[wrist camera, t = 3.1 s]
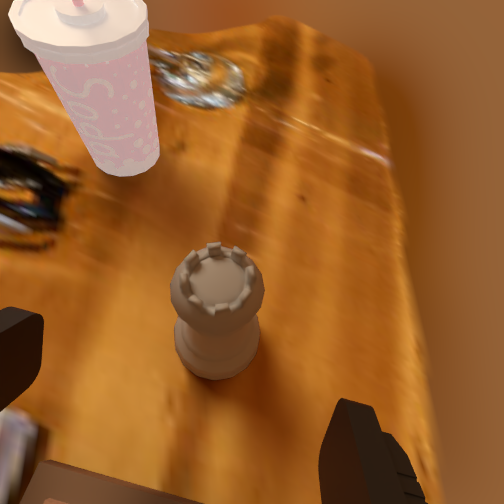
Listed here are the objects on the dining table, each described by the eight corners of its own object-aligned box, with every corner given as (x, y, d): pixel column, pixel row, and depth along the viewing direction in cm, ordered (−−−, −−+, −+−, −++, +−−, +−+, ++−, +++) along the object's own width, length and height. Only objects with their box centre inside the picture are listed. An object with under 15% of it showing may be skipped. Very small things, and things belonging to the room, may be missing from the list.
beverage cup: (61, 163, 22) (-133, -169, 10) (117, 112, 25) (21, -193, 13) (137, 198, 21) (29, -116, 9) (186, 141, 24) (155, -154, 12)
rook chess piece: (259, 300, 19) (284, 223, 12) (257, 383, 16) (288, 349, 9) (181, 295, 18) (159, 213, 11) (169, 379, 16) (132, 341, 9)
